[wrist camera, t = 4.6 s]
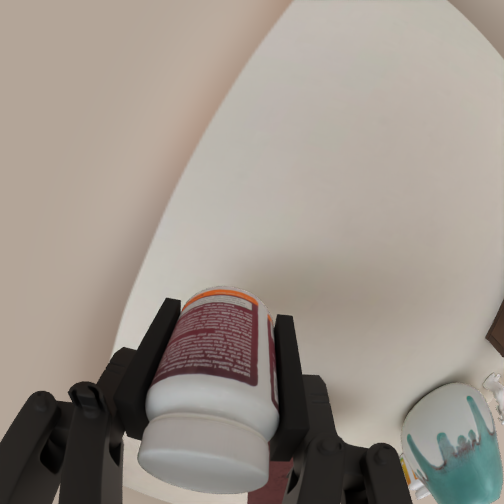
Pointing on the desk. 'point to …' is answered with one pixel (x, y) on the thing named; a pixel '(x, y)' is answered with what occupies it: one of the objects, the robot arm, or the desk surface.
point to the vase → (454, 446)
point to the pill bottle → (214, 396)
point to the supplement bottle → (413, 480)
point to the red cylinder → (272, 484)
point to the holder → (497, 331)
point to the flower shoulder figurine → (496, 393)
